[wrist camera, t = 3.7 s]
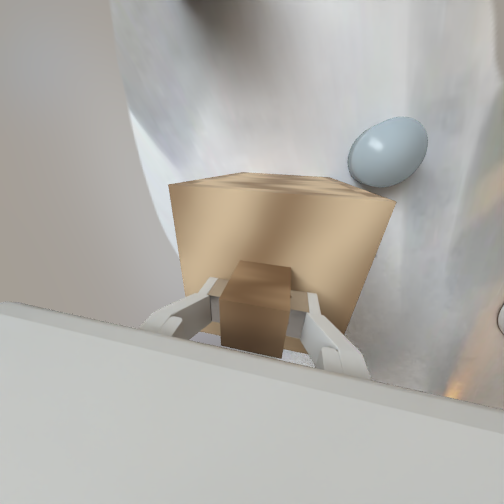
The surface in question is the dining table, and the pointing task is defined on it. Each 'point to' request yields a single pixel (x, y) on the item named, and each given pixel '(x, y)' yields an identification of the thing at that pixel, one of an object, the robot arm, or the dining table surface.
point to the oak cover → (276, 250)
